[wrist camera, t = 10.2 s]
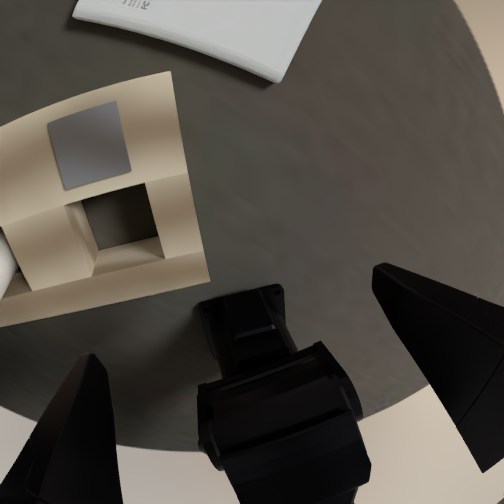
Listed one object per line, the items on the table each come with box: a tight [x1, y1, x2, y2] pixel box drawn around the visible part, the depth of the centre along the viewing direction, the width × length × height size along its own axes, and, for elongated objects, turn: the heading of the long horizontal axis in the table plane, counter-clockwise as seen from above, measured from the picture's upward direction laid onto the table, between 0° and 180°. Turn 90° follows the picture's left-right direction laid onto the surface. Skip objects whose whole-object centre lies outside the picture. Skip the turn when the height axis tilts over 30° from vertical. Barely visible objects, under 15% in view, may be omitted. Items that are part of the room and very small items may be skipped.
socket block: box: [0, 71, 210, 327], centre depth 16 cm, size 12×18×3 cm, turn 96°
